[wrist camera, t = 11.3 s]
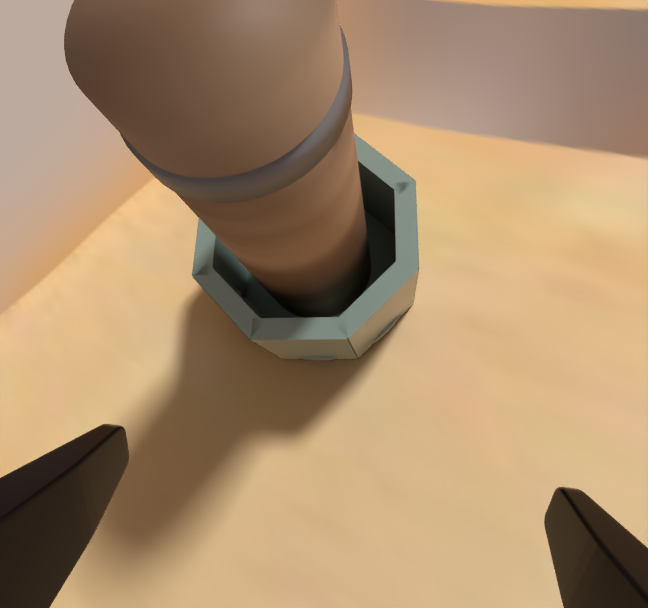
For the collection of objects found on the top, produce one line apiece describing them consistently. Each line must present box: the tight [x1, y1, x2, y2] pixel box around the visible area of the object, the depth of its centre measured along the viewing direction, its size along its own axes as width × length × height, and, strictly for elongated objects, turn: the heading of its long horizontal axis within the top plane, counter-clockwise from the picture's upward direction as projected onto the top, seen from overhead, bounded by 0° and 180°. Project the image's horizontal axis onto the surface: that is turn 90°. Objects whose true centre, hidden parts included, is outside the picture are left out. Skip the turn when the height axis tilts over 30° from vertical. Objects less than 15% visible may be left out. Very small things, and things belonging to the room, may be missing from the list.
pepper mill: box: [64, 0, 371, 318], centre depth 14 cm, size 5×5×13 cm
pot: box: [192, 134, 419, 361], centre depth 18 cm, size 9×9×4 cm
